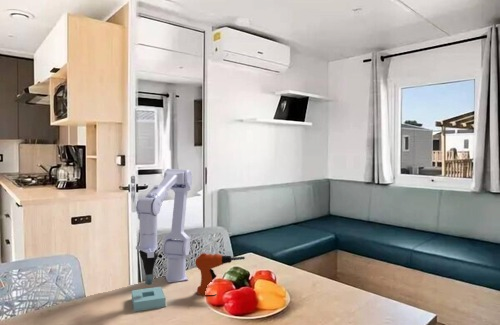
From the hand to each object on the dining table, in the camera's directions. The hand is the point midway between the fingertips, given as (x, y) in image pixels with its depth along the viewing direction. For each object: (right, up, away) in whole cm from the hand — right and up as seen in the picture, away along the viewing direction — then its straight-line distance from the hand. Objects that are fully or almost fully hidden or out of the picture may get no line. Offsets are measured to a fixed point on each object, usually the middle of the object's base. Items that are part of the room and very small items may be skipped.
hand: (148, 272), depth 119 cm
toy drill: (+23, -11, +9) cm, 27 cm away
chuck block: (0, -10, 0) cm, 10 cm away
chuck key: (0, -4, 0) cm, 4 cm away
